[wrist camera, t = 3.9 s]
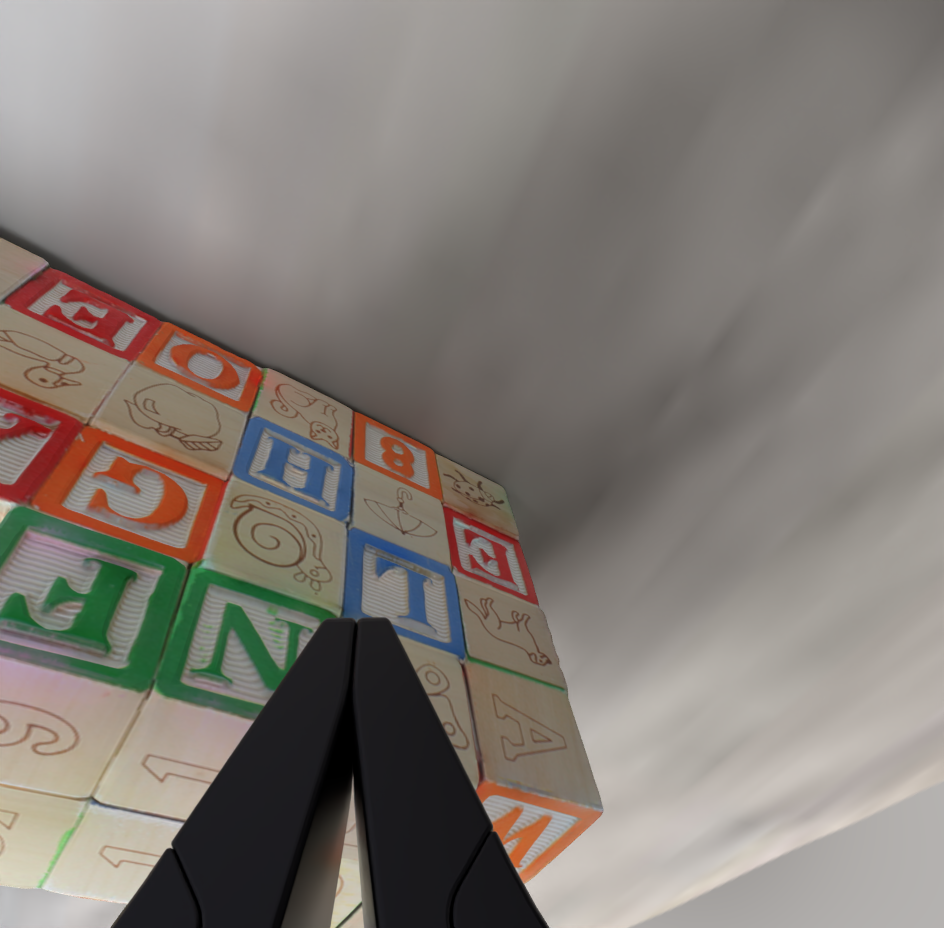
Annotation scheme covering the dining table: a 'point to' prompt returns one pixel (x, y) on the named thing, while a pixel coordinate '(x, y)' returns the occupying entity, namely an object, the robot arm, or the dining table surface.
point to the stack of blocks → (231, 590)
